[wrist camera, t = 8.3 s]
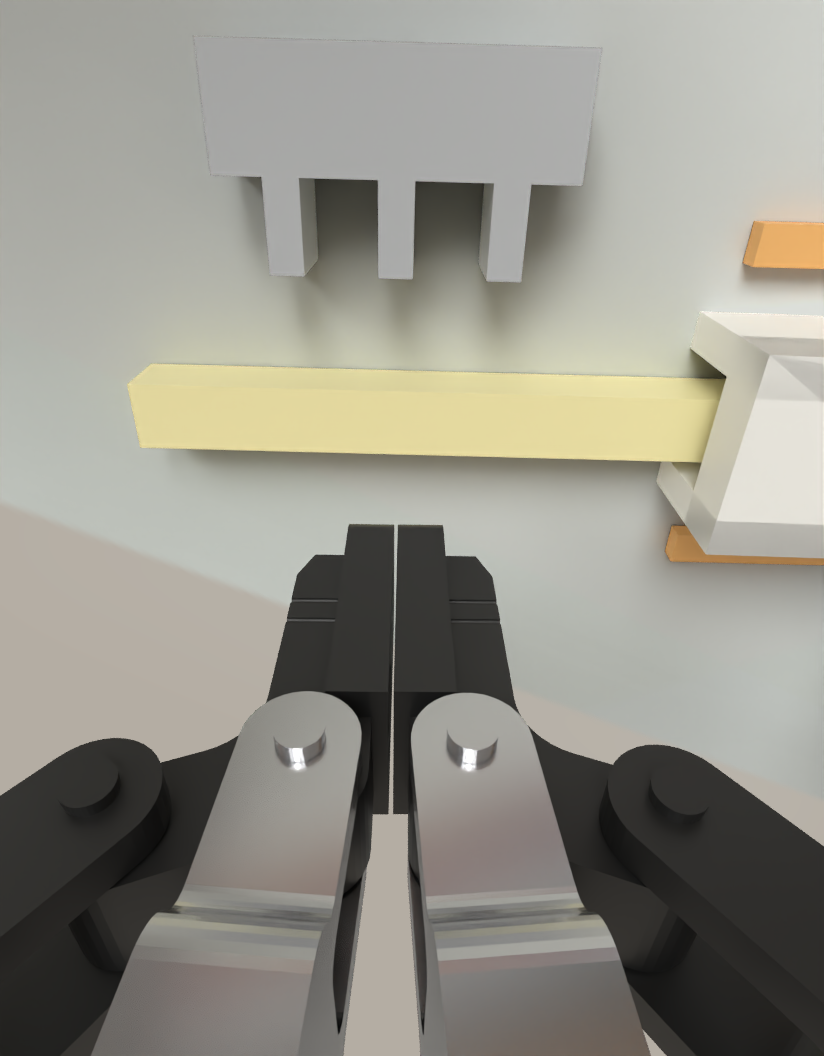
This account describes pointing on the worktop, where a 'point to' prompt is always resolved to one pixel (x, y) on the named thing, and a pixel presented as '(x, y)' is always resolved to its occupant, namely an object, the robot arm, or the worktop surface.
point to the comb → (396, 132)
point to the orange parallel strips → (772, 250)
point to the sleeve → (758, 440)
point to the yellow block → (424, 412)
